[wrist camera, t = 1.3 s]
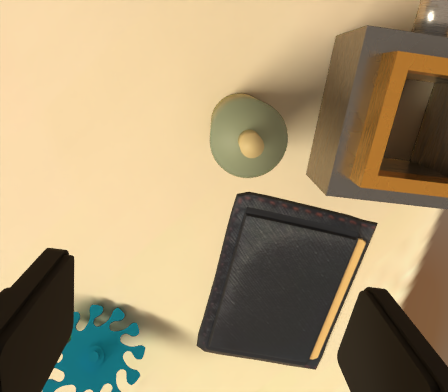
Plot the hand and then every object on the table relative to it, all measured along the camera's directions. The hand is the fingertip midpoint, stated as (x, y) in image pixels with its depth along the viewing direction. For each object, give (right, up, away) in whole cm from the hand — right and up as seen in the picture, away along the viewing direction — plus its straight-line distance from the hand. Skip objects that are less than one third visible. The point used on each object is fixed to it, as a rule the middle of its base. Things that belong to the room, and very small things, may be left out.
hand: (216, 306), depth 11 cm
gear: (-13, -11, +26) cm, 32 cm away
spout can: (+2, +10, +19) cm, 22 cm away
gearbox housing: (+15, +12, +19) cm, 27 cm away
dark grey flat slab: (+6, -6, +26) cm, 27 cm away
